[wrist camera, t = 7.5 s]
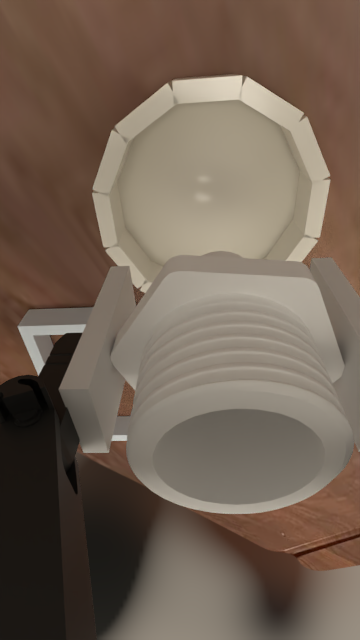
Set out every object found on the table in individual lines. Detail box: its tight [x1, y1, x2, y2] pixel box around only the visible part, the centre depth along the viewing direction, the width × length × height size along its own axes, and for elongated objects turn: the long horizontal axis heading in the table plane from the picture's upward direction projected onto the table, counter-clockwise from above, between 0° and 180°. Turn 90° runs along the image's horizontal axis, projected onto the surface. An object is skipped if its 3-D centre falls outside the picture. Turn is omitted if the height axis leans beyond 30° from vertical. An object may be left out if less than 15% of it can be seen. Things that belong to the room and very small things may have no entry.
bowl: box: [92, 74, 330, 293], centre depth 23 cm, size 14×14×4 cm
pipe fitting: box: [110, 251, 354, 514], centre depth 11 cm, size 6×7×8 cm
